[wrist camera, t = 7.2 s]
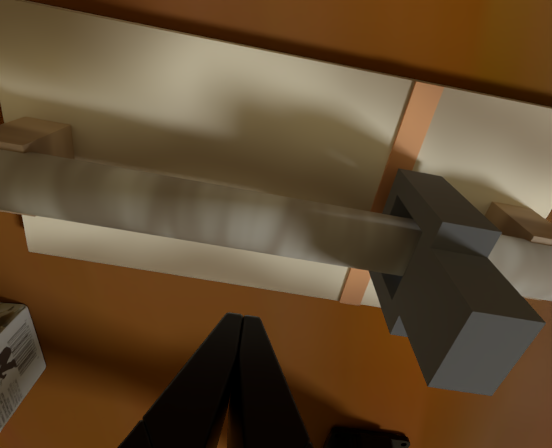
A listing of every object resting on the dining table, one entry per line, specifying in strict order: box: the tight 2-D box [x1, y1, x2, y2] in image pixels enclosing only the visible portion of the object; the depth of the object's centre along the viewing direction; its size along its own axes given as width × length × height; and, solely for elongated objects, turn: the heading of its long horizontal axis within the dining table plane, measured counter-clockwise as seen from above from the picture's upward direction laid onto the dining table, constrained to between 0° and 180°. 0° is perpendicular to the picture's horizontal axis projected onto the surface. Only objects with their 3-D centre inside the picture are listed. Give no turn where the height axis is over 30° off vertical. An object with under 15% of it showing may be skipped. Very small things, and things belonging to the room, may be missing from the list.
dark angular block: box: [369, 168, 546, 396], centre depth 13 cm, size 5×2×8 cm, turn 170°
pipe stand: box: [0, 0, 552, 307], centre depth 16 cm, size 12×26×6 cm, turn 80°
